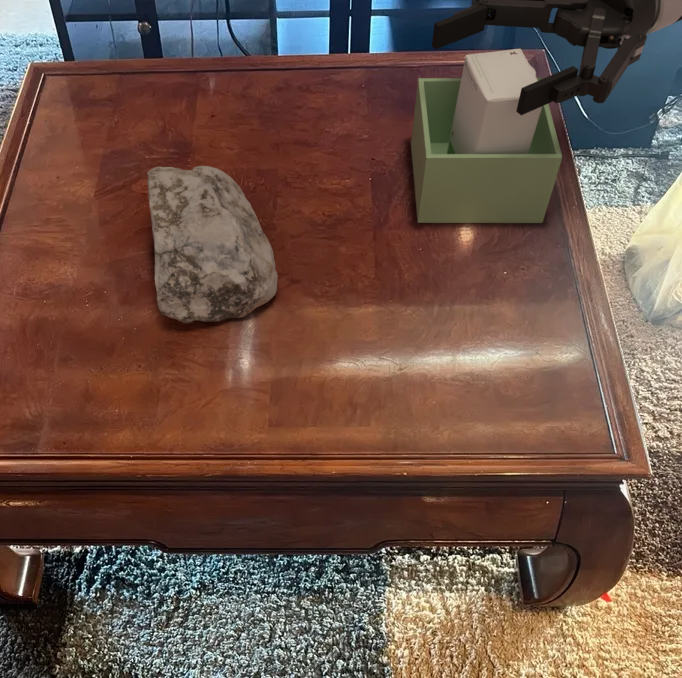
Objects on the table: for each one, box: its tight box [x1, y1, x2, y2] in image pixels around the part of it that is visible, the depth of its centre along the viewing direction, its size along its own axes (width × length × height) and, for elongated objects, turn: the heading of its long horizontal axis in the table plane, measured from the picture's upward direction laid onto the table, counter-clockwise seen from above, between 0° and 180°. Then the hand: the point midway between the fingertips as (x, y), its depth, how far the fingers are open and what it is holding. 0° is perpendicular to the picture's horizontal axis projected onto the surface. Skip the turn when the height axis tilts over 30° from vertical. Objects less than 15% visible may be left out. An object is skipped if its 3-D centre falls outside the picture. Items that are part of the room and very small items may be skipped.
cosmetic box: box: [447, 48, 542, 154], centre depth 90 cm, size 8×7×16 cm
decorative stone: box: [146, 165, 279, 324], centre depth 88 cm, size 20×14×10 cm
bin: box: [410, 76, 563, 224], centre depth 93 cm, size 14×14×10 cm
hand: (475, 67), depth 82 cm, fingers open, 13 cm apart
